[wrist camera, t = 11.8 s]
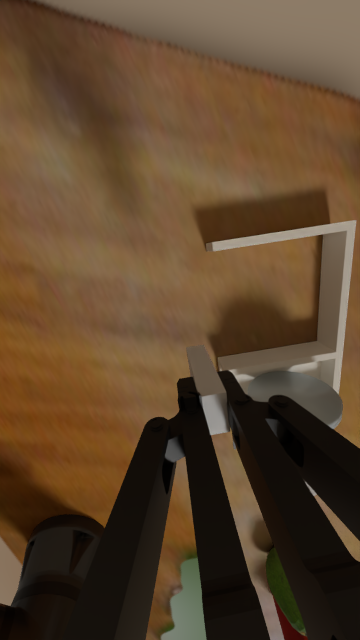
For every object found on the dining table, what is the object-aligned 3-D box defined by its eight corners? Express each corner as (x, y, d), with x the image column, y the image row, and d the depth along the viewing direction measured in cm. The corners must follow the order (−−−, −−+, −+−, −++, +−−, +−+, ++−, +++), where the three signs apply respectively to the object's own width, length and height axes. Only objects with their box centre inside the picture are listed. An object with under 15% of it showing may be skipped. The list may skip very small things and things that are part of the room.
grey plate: (237, 384, 34) (269, 443, 24) (237, 377, 34) (269, 434, 23) (305, 372, 34) (367, 425, 24) (305, 366, 34) (368, 417, 23)
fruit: (276, 562, 52) (308, 650, 40) (252, 553, 50) (278, 643, 39) (299, 543, 50) (339, 629, 39) (274, 533, 48) (309, 620, 37)
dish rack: (221, 399, 36) (228, 416, 32) (205, 243, 28) (212, 242, 25) (320, 382, 37) (338, 397, 33) (330, 224, 29) (356, 219, 25)
